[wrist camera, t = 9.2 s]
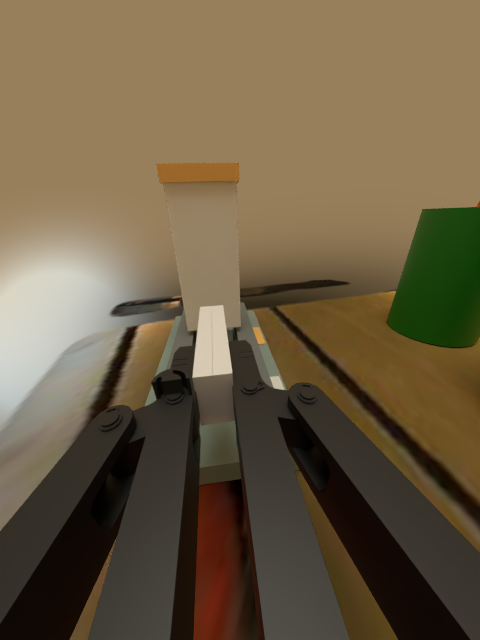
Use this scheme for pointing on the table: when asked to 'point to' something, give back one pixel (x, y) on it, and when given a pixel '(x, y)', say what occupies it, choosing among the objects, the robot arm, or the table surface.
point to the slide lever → (205, 236)
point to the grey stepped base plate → (221, 438)
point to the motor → (441, 280)
